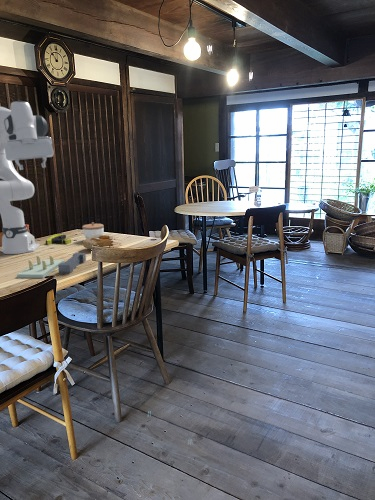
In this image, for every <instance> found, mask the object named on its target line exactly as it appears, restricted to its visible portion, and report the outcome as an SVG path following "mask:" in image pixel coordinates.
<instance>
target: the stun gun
mask: <svg viewBox="0 0 375 500" xmlns="http://www.w3.org/2000/svg"><path fill="white" fill-rule="evenodd" d="M71 243H72V239H71V238H67V235H66V234H64V233H61V234H56V233H55V234H53V235H51V236H50V237H48V238H47V239H46V240H45V245H47V246H51V245H53V244H58V245H69V244H71Z"/></svg>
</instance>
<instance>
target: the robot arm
mask: <svg viewBox="0 0 375 500" xmlns="http://www.w3.org/2000/svg"><path fill="white" fill-rule="evenodd" d="M48 130H49V126H48V123H47V120H46V119H45V118H44V117H43V116H42V115H33V110H32V107H31V105H30V103H29V102H27V101H25V100H24V101H23V100H16V101H12V102H11V103H10V109H8V108H7V107H5V106H0V179H1V180H0V217H1V222H2V229H1V230H2V234H3V235H2V236H1V247H2V248H1V249H0V252H2V253H3V254H4V255H5V254H6V255H19V254H25V253H30V252H35V250H37V249H38V248H40V245H41V244H40V243H38V242H36V238H35V236H34V235H33V234H31V233H30V232H29V231H28V229H29V228H30V227H29V226H30V225H29V224H25V223H26V222H25V217H24V216H25V214H24V211H23V210H22V209H21V208H19V207H16V206H13V205H11V202H13V201H24V200H27V199H30V198H32V197H34V194H35V186H34V184H33V183H32V181H30V180H29V179H26V178H25V177H24V176H22V175H21V174H20V173H18V171H17V170H16V169H15V166H14V164H13V161H14V163H15V164H16V165H17V166H18V168H19V170H20V171H21V170H24V167H23V164H21V163H20V160H29V159H31V160H33V159H42V160H43V162H41V168H43V169H44V168H46V167H47V165H46V162H47V158H52V157H54V154H55V151H54V147H53V139H52V138H51V137H49V136H47V133H48Z"/></svg>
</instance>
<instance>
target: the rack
mask: <svg viewBox="0 0 375 500" xmlns="http://www.w3.org/2000/svg"><path fill="white" fill-rule="evenodd" d="M64 262H66V261H65V259H54V255H49V259H41V255H36V262H35V263H33V260H32V259H30V260H28V267H27V268H25V269H23V270H21V271H20V272H18V273H17V274H16V278H17V279H18V278H19V279H21V278H22V279H23V278H24V279H25V278H27V279H34V278H35V279H44V278H45V277H47V276H48V275H49V274H51V273H52V272H54V271H55V270H56V269H58V265H59V264H60V263H64Z"/></svg>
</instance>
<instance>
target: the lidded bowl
mask: <svg viewBox="0 0 375 500" xmlns="http://www.w3.org/2000/svg"><path fill="white" fill-rule="evenodd" d="M81 229H82V233H83V236H84V238H85V239H87V238H89V237H91V236H94V235H101V234H102V235H104V233H105V232H104V229H105V228H104V224H102V223H95V222H91V223H89V224H83V225H82V227H81Z"/></svg>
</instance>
